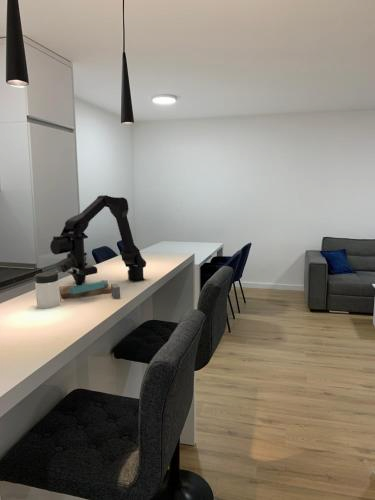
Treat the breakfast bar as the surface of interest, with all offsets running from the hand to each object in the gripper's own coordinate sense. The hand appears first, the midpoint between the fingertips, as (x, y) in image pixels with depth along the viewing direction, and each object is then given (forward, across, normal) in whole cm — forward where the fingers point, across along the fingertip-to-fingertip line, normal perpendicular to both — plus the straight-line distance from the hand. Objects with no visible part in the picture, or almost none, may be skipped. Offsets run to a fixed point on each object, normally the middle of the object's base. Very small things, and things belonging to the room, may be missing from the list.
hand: (79, 288), depth 162 cm
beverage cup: (+4, -21, +14) cm, 25 cm away
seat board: (+3, -4, +5) cm, 7 cm away
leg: (+1, +3, +3) cm, 4 cm away
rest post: (+3, +13, +8) cm, 16 cm away
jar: (+3, +2, -14) cm, 15 cm away
